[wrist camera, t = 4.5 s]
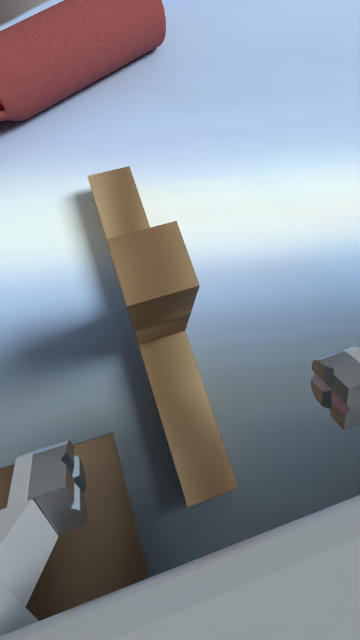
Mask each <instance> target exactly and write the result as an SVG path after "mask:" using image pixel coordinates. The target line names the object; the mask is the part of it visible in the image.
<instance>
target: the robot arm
mask: <svg viewBox="0 0 360 640" xmlns="http://www.w3.org/2000/svg"><path fill="white" fill-rule="evenodd" d="M312 370H313V371H314V372H315V375H314V376H313V378H312V379H311V387H312V390H313V393H314V396H315V397H316V399H317V401H318V402H319V403H320V404H321V405H322V406H324V407H326V408H329V409H330V413H331V417H332V418H333V419H334V420H335V421H336V422H337V423H338V424H339V425H340V427H341V428H342V429H343V430H346V429H349V428H352V427H355V426H358V425H360V348H359V347H356V346H353V347H350V348H348V349H345V350H342V351H339V352H336V353H333V354H330V355H327V356H324V357H321V358H318V359H315V360H314V361H313V363H312ZM85 489H86V477H85V472H84V468H83V465H82V462H81V460H80V458H79V457H77V456H75V455H74V446H73V445H72V443H71V441H65V442H61V443H58V444H55V445H51V446H48V447H45V448H42V449H38V450H35V451H33V452H29V453H26V454H23V455H19V456H18V457H17V459H16V460H15V464H14V470H13V475H12V481H11V486H10V492H9V497H8V502H7V508H4V509H1V510H0V640H360V495H358V496H355V497H353V498H350V499H347V500H345V501H342V502H340V503H337V504H335V505H332V506H330V507H327V508H325V509H322V510H320V511H317V512H314V513H312V514H309V515H307V516H304V517H302V518H299V519H297V520H294V521H292V522H289V523H287V524H284V525H281V526H279V527H276V528H274V529H271V530H269V531H266V532H264V533H261V534H259V535H256V536H254V537H251V538H249V539H246V540H244V541H241V542H239V543H236V544H233V545H231V546H228V547H226V548H223V549H221V550H218V551H216V552H213V553H211V554H208V555H206V556H203V557H201V558H198V559H196V560H193V561H190V562H188V563H185V564H183V565H180V566H178V567H175V568H173V569H170V570H168V571H165V572H163V573H160V574H157V575H155V576H152V577H150V578H147V579H145V580H142V581H140V582H137V583H135V584H132V585H130V586H127V587H125V588H122V589H119V590H117V591H114V592H112V593H109V594H107V595H104V596H102V597H99V598H97V599H94V600H92V601H89V602H86V603H84V604H81V605H79V606H76V607H74V608H71V609H69V610H66V611H64V612H61V613H59V614H56V615H54V616H51V617H48V618H46V619H43V620H41V621H38V620H37V619H36V618H35V617H34V616H33V615H32V614H31V613H30V612H29V611H28V610H27V609H26V608H25V607H26V605H27V603H28V601H29V598H30V596H31V594H32V592H33V590H34V588H35V586H36V584H37V581H38V579H39V577H40V575H41V573H42V571H43V569H44V566H45V564H46V562H47V560H48V558H49V556H50V554H51V552H52V549H53V547H54V545H55V543H56V541H57V539H58V535H59V534H61V533H64V532H66V531H69V530H71V529H74V528H77V527H79V526H82V525H84V524H87V501H86V499H85V498H84V496H83V493H84V491H85Z"/></svg>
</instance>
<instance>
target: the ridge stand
mask: <svg viewBox="0 0 360 640" xmlns="http://www.w3.org/2000/svg"><path fill="white" fill-rule="evenodd" d="M73 446H74V455H75V456H77V457H79V458H80V460H81V462H82V465H83V468H84V472H85V477H86V489H85V491H84V493H83V496H84V498H85V499H86V501H87V524H84V525H82V526H79V527H77V528H74V529H71V530H69V531H66V532H64V533H61V534H59V535H58V539H57V541H56V543H55V545H54V547H53V549H52V552H51V554H50V556H49V558H48V560H47V562H46V564H45V566H44V569H43V571H42V573H41V575H40V577H39V579H38V581H37V584H36V586H35V588H34V590H33V592H32V594H31V596H30V598H29V601H28V603H27V605H26V607H25V608H26V609H27V610H28V611H29V612H30V613H31V614H32V615H33V616H34V617H35V618H36V619H37V620H38V621H41V620H43V619H46V618H48V617H51V616H54V615H56V614H59V613H61V612H64V611H66V610H69V609H71V608H74V607H76V606H79V605H81V604H84V603H86V602H89V601H92V600H94V599H97V598H99V597H102V596H104V595H107V594H109V593H112V592H114V591H117V590H119V589H122V588H125V587H127V586H130V585H132V584H135V583H137V582H140V581H142V580H145V579H147V578H150V576H149V572H148V568H147V564H146V561H145V557H144V553H143V549H142V545H141V541H140V537H139V533H138V529H137V525H136V521H135V517H134V513H133V510H132V506H131V502H130V498H129V494H128V490H127V486H126V482H125V478H124V474H123V470H122V466H121V463H120V459H119V455H118V451H117V447H116V443H115V439H114V435H113V432H112V433H109V434H106V435H103V436H100V437H97V438H94V439H91V440H88V441H85V442H82V443H79V444H76V445H73ZM13 470H14V465H11V466H8V467H5V468H2V469H0V510H1V509H4V508H7V502H8V497H9V492H10V486H11V481H12V475H13Z"/></svg>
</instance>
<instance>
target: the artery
mask: <svg viewBox="0 0 360 640" xmlns="http://www.w3.org/2000/svg"><path fill="white" fill-rule="evenodd" d="M165 32H166V20H165V14H164V7H163V4H162V0H64V1H62V2H60V3H58V4H56V5H54V6H52V7H50V8H47V9H45V10H43V11H41V12H39V13H37V14H35V15H33V16H31V17H29V18H27V19H25V20H23V21H21V22H19V23H17V24H14V25H12V26H10V27H8V28H6V29H4V30H2V31H0V121H4V120H6V121H23V120H26V119H28V118H30V117H32V116H34V115H36V114H37V113H39V112H41V111H43V110H45V109H46V108H48V107H50V106H52V105H54V104H55V103H57V102H59V101H61V100H63V99H64V98H66V97H68V96H70V95H72V94H73V93H75V92H77V91H79V90H81V89H82V88H84V87H86V86H88V85H90V84H91V83H93V82H95V81H97V80H99V79H100V78H102V77H104V76H106V75H108V74H109V73H111V72H113V71H115V70H117V69H118V68H120V67H122V66H124V65H126V64H128V63H129V62H131V61H133V60H135V59H137V58H138V57H140V56H142V55H144V54H146V53H147V52H149V51H151V50H153V49H155V48H156V47H158V46H160V45H161V44H162V42H163V41H164V37H165Z"/></svg>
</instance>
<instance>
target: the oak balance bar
mask: <svg viewBox="0 0 360 640" xmlns="http://www.w3.org/2000/svg"><path fill="white" fill-rule="evenodd" d="M88 179H89V183H90V186H91V189H92V193H93V196H94V199H95V202H96V206H97V209H98V212H99V216H100V219H101V222H102V226H103V229H104V232H105V235H106V240H107V243H108V246H109V250H110V253H111V256H112V259H113V263H114V266H115V269H116V273H117V276H118V279H119V283H120V286H121V289H122V293H123V296H124V299H125V302H126V306H127V309H128V312H129V316H130V319H131V322H132V325H133V328H134V332H135V335H136V338H137V341H138V345H139V348H140V351H141V355H142V358H143V361H144V364H145V368H146V371H147V374H148V378H149V381H150V384H151V388H152V391H153V394H154V398H155V401H156V404H157V407H158V411H159V414H160V417H161V421H162V424H163V427H164V431H165V434H166V437H167V441H168V444H169V447H170V450H171V454H172V457H173V460H174V464H175V467H176V470H177V474H178V477H179V480H180V484H181V487H182V490H183V493H184V497H185V500H186V503H187V507H190V506H193V505H195V504H198V503H200V502H203V501H206V500H208V499H211V498H214V497H216V496H219V495H221V494H224V493H227V492H229V491H232V490H235V489H237V488H238V486H237V483H236V480H235V477H234V474H233V471H232V468H231V465H230V462H229V459H228V456H227V453H226V451H225V448H224V445H223V442H222V439H221V436H220V433H219V430H218V427H217V424H216V421H215V418H214V415H213V412H212V409H211V406H210V403H209V400H208V397H207V394H206V391H205V388H204V386H203V383H202V380H201V377H200V374H199V371H198V368H197V365H196V362H195V359H194V356H193V353H192V350H191V347H190V344H189V341H188V338H187V335H186V332H185V329H186V326H187V323H188V320H189V317H190V314H191V310H192V307H193V304H194V301H195V298H196V295H197V292H198V289H199V282H198V280H197V277H196V274H195V271H194V269H193V266H192V263H191V260H190V258H189V255H188V252H187V249H186V246H185V244H184V241H183V238H182V235H181V233H180V230H179V227H178V224H177V221H174V222H170V223H167V224H163V225H159V226H155V227H151V228H150V226H149V223H148V220H147V217H146V214H145V211H144V208H143V205H142V202H141V199H140V196H139V193H138V190H137V188H136V185H135V182H134V179H133V176H132V173H131V170H130V167H124V168H120V169H116V170H112V171H107V172H103V173H99V174H95V175H90V176H88Z"/></svg>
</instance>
